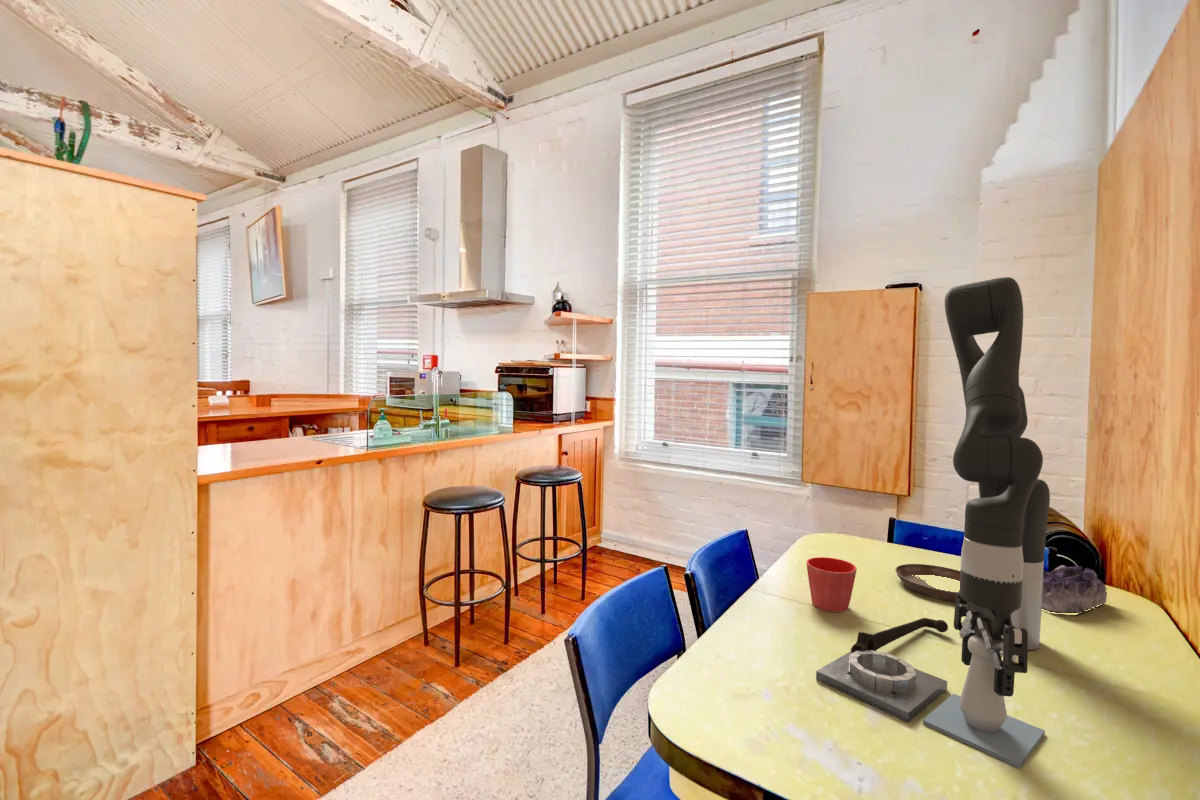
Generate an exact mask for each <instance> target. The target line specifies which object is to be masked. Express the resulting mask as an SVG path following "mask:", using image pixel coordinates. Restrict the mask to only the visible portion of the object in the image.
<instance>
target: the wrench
mask: <svg viewBox="0 0 1200 800" xmlns="http://www.w3.org/2000/svg"><path fill="white" fill-rule="evenodd" d="M922 628H929V629H933V630H936V631H938V632H939V633H945V632H947V631H948V630H949V626H948V623H947V622H946V621H945V620H942V619H937V620H936V619H932V618H928V617H921V618H919V619H916V620H914V621H910V622H907V623H905V624H900V625H897V626H894V627H891V628H887V629H884V630H881V631H878V632H875V633H874V634H872V633H867V632H863V631H859V632H858V634H857V639H856V643H854V644H853V645H852V646H851V648H850V651H851V652H852V653H854V652H855V651H859V652H864V651H866V650H873V651H878V650H879V649H881V648H882V647H885V646H886V645H888V644H890V643H892V642H894V641H896V640H898V639H901V638H902V637H904V636H906V635H908V634H911V633H913V632H915V631H917V630H920V629H922Z"/></svg>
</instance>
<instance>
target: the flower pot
mask: <svg viewBox="0 0 1200 800" xmlns="http://www.w3.org/2000/svg"><path fill="white" fill-rule="evenodd" d="M806 571H807V576H808V578H807V580H808V587H809V593H810V598H811V603H812V605H813V606H814V607H817V609H820V610H822V611H825V612H831V613H843V612H846V611H847V610H849V606H850V602H851V599H852V595H853V589H854V585H855V579H856V574H857V571H858V570H857V566H856V565H855V564H854V563H852V562H850V561H846V560H843V559H841V558H835V557H834V558H833V557H825V556H821V557H818V556H817V557H811V558H809V559H807V560H806Z"/></svg>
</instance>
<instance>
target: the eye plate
mask: <svg viewBox="0 0 1200 800" xmlns="http://www.w3.org/2000/svg"><path fill="white" fill-rule="evenodd" d="M815 680H816V681H818V682H820V683H822V684H825V685H827V686H829V687H831V688H834V689H836V690H837V691H840V692H842V693H845V695H848V696H851V697H853V698H854V699H856V700H859V701H861V702H864V703H865V704H868V705H870V706H872V707H874V708H877V709H878V710H880V711H883V712H884V713H887V714H889V715H891V716H894V717H896V718H897V719H899V720H902V721H904V722H906V723H909V722H911V721H912V720H913V719H914V718H916V717H917V716H918V715H919V714H920V713H921V712H923V711H924V710H925V709H926V708H927V707H928V706H930V705H931V704H932V703H933V702H934V701H936V700H937V699H938V698H939V697H940V696H942V695H943V694H944V693H945V692H947V690H948V680H946V679H943V678H940V677H937V676H935V675H933V674H930V673H928V672H925V671H922V670H920V669H917V668H915V667H914V666H913V665H912V664H910V663H909V662H907V661H906V660H905V659H903V658H901V657H898V656H895V655H893V654H891V653H888V652H884V651H878V650H876V651H873V650H866V651H864V652H859V651H855V652H854V653H852V652H851V650H850V651H849V652H847V653H845V654H843V655H842V656H840V657H838V658H836V659H834V660H833V661H831V662H829V663H828V664H826V665H824V666H822V667H821V668H819V669H817V670H816V672H815Z"/></svg>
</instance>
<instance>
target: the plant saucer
mask: <svg viewBox="0 0 1200 800" xmlns="http://www.w3.org/2000/svg"><path fill="white" fill-rule="evenodd" d="M894 572H895V573H896V574H897V575H896V576H897V577H898V578H899V579H900V581H901V582H902V583H903V584H904V585H905V586H906V587H907V588H909V589H911V590H912V589H913V590H912V591H914V590H915V592H916V591H917V592H916V593H919V594H921V593H922V595H924V594H925V596H927V595H928V597H931V596H932V598H935V597H937V598H936V599H939V598H941V600H944V599H946V600H945V601H950V600H954V601H953V602H955V601H956V594H957V593H959V592H951V591H945V590H940V589H936V588H934V587H932V586H930V585H928V584H927V583H926V582H925V581H926V580H925V581H924V580H922V579H920V577H919V578H917V577H918V576H917V577H915V575H935V576H941V577H947V578H951V579H955V580H958V581H960V570H958V569H954V568H950V567H949V568H948V567H943V566H938V565H933V564H925V563H924V564H922V563H921V564H920V563H906V564H900V565H898V566H896V567H895V571H894ZM912 575H913V576H912Z"/></svg>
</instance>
